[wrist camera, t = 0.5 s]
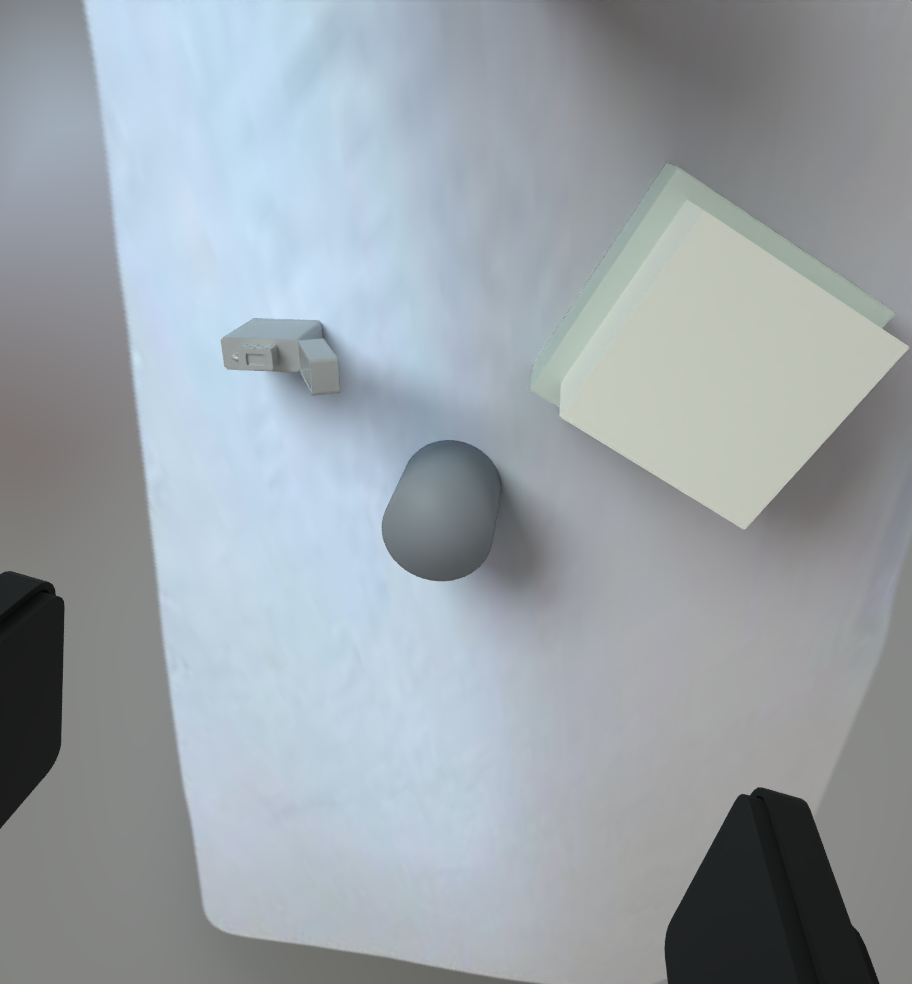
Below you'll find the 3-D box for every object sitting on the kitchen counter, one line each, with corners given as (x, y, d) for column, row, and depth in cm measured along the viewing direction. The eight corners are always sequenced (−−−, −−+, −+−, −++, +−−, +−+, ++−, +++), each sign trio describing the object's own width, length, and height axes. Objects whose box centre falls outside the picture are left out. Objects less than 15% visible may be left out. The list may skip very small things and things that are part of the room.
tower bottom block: (533, 362, 43) (529, 389, 39) (665, 162, 38) (678, 167, 34) (708, 471, 45) (724, 509, 40) (858, 291, 40) (895, 312, 35)
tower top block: (560, 382, 38) (559, 416, 34) (686, 199, 34) (704, 210, 30) (724, 484, 40) (744, 530, 35) (866, 319, 35) (909, 347, 31)
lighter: (254, 348, 45) (194, 391, 37) (250, 318, 44) (188, 356, 37) (374, 352, 44) (336, 397, 37) (373, 322, 43) (334, 361, 36)
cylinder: (385, 498, 48) (362, 545, 42) (433, 421, 45) (415, 461, 40) (468, 546, 48) (456, 599, 43) (520, 473, 46) (514, 519, 40)
